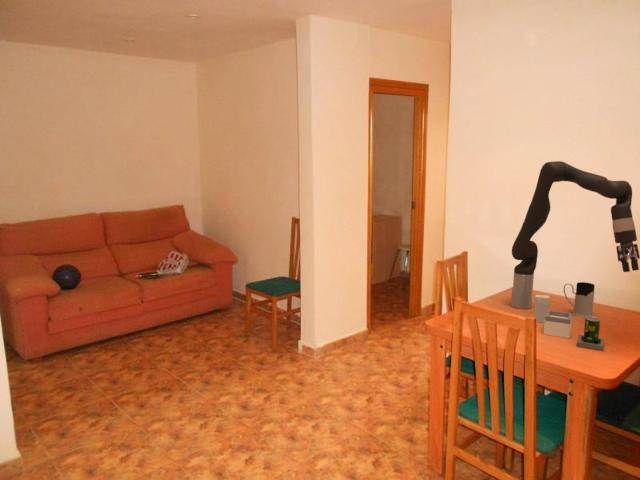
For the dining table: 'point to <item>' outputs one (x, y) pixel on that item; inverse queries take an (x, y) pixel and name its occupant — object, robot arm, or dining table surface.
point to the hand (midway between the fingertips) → (631, 271)
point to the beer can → (591, 329)
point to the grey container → (583, 299)
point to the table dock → (590, 344)
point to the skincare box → (541, 307)
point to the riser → (558, 323)
